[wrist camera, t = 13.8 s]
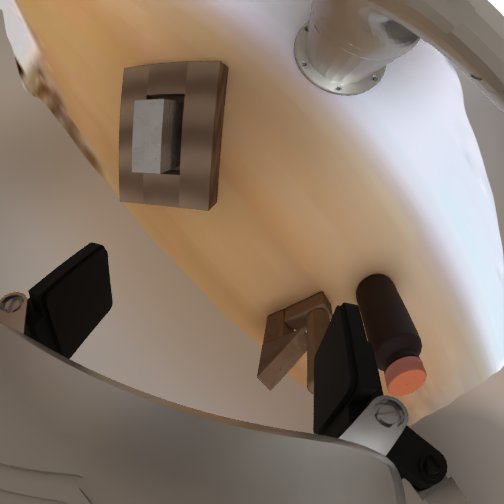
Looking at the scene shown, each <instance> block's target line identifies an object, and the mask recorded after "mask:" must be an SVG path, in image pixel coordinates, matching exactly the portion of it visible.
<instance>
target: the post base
mask: <svg viewBox="0 0 504 504" xmlns="http://www.w3.org/2000/svg"><path fill="white" fill-rule="evenodd" d="M227 74H228V67H227V66H226V65H225V64H223V63H222V62H221V61H188V62H172V63H160V64H151V65H142V66H135V67H128V68H124V74H123V84H122V95H121V109H120V129H119V191H120V202H131V203H141V204H151V205H161V206H170V207H179V208H188V209H197V210H205V211H209V210H210V209H211V208H212V207H213V206H214V205H215V204H216V203H217V191H218V176H219V162H220V149H221V137H222V125H223V114H224V104H225V94H226V84H227ZM151 99H168V100H174V101H180V102H184V110H183V123H182V138H181V157H180V166H179V167H176V168H173V169H171V170H168V171H166V172H163V173H161V174H155V173H138V172H132V139H133V118H134V104H135V100H151Z"/></svg>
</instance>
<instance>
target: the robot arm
mask: <svg viewBox="0 0 504 504" xmlns="http://www.w3.org/2000/svg"><path fill="white" fill-rule="evenodd" d="M306 30H308V32H307V31H306ZM420 38H421V39H422V40H424V41H425V42H428V43H429V44H431V45H432V46H433V47H434V48H436V49H437V50H438V51H439V52H440V53H442V54H443V55H444V56H445V57H446V58H448V59H449V60H450V61H451V62H452V63H453V64H454V65H456V66H457V67H458V68H459V69H460V70H461V71H462V72H463V73H464V74H465V75H466V76H467V77H468V78H469V79H470V80H471V81H472V82H473V83H474V84H475V85H477V87H478V88H479V89H480V90H481V91H482V92H483V93H484V94H485V95H486V96H487V97H488V98H489V99H490V100H491V101H492V102H493V103H494V104H495V105H496V106H497V107H498V108H499V109H500V110H501V111H503V112H504V0H313V1H312V8H311V15H310V20H309V21H308V22H307V23H306V24H304V25H303V27H302V28H301V29H300V30H299V32H298V34H297V36H296V40H295V44H294V51H295V58H296V61H297V64H298V66H299V68H300V70H301V71H302V73H303V74H304V75H305V76H306V78H307V79H308V80H309V81H311V82H312V83H313V84H314V85H316V86H317V87H319V88H321V89H322V90H325V91H327V92H330V93H333V94H337V95H357V94H360V93H363V92H365V91H368V90H369V89H371V88H372V87H374V86H375V85H376V84H377V83H378V82H379V81H380V80H381V78H382V76H383V74H384V71H385V68H386V65H387V64H389V63H390V62H392V61H393V60H395V59H397V58H398V57H400V56H402V55H403V54H405V53H407V52H408V51H410V50H411V49H412V48H413V47H414V46H415V45H416V44H417V43H418V41H419V40H420ZM303 63H305V64H306V66H303V65H302V64H303ZM372 77H374V78H375V80H373V79H372ZM337 87H338V88H339V91H337V90H336V88H337ZM29 295H30V298H29V299H28V300H27V297H26V296H25V295H24V294H23V293H20V292H13V293H9V294H7V295H5V296H4V297H3V298H1V299H0V504H470V503H469V501H468V500H467V498H466V497H465V496H464V494H463V492H462V491H461V490H460V488H459V487H458V485H457V484H456V482H455V481H454V480H453V478H452V477H451V476H450V477H449V478H447V476H446V472H447V463H446V460H445V458H444V456H443V455H442V454H441V453H440V452H439V451H438V450H436V449H435V448H434V447H433V446H431V445H430V444H429V443H428V442H426V441H425V440H424V439H423V438H421V437H420V436H419V435H418V434H416V433H415V432H414V431H413V430H412V429H410V428H409V427H408V426H407V422H408V412H407V409H406V407H405V406H404V404H403V403H402V402H400V401H399V400H398V399H396V398H394V397H391V396H383V391H382V386H381V381H380V376H379V372H378V367H377V363H376V359H375V355H374V350H373V346H372V344H371V342H369V341H367V337H366V333H365V329H364V325H363V321H362V318H361V314H360V310H359V307H358V305H354V304H349V303H343V304H342V305H341V306H339V305H338V306H337V307H336V309H335V311H334V314H333V316H332V319H331V321H330V323H329V326H328V328H327V330H326V332H325V335H324V337H323V339H322V341H321V344H320V346H319V348H318V350H317V352H316V355H315V358H314V428H313V430H314V434H311V433H305V432H298V431H292V430H285V429H280V428H274V427H269V426H264V425H259V424H254V423H249V422H244V421H239V420H235V419H230V418H226V417H222V416H218V415H215V414H211V413H207V412H203V411H200V410H196V409H193V408H189V407H186V406H183V405H180V404H177V403H173V402H170V401H167V400H164V399H162V398H159V397H156V396H153V395H150V394H147V393H145V392H142V391H139V390H137V389H134V388H132V387H129V386H126V385H124V384H122V383H119V382H117V381H115V380H112V379H110V378H108V377H105V376H103V375H101V374H99V373H97V372H94V371H92V370H90V369H88V368H86V367H84V366H82V365H80V364H78V363H76V362H74V361H72V360H70V357H72V355H73V354H74V353H75V351H76V350H77V349H78V348H79V346H80V345H81V344H82V343H83V342H84V340H85V339H86V338H87V337H88V335H89V334H90V333H91V332H92V331H93V329H94V328H95V327H96V326H97V325H98V323H99V322H100V321H101V320H102V319H103V317H104V316H105V315H106V314H107V313H108V311H109V310H110V309H111V307H112V293H111V285H110V276H109V265H108V254H107V251H106V250H105V248H104V246H103V245H100V244H96V243H89V244H88V245H87V246H85V247H84V248H83V249H81V250H80V251H78V252H77V253H76V254H75V255H73V256H72V257H70V258H69V259H68V260H66V261H65V262H64V263H62V264H61V265H60V266H58V267H57V268H56V269H55V270H53V271H52V272H51V273H50V274H48V275H47V276H46V277H45V278H43V279H42V280H41V281H40V282H39V283H37V284H36V285H35V286H34V287H32V288H31V289H30V290H29ZM317 434H318V435H317Z"/></svg>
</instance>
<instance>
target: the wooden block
mask: <svg viewBox="0 0 504 504" xmlns="http://www.w3.org/2000/svg"><path fill="white" fill-rule="evenodd" d="M332 316H333V315H332V309H331V305H330V303H329V302H328V300H327V298H326V297H325V295H324V293H323V292H320V293H318V294H316V295H314V296H312V297H310V298H308V299H306V300H303V301H301V302H299V303H297V304H295V305H293V306H290V307H288V308H286V309H285V310H281V311H279V312H277V313H275V314H272V315H270V316H268V317H267V323H266V329H265V335H264V341H263V343H264V344H263V345H262V351H261V357H260V363H259V368H258V374H257V378H258V379H259V380H260V381H261V382H262V383H263V384H264V385H265V386H266V387H267V388H268V389H269V390H271V389H273V388H274V386H275V385H276V384H277V383H278V382H279V381H280V380H281V379H282V378H283V377H284V376H285V375H286V374H287V372H288V371H289V370H290V369H291V368H292V367H293V366H294V365H295V364H296V362H297V361H298V360H299V359H300V358H301V357H302V356H303V354H304V353H305V352H306V351H307V388H308V390H309V392H311V393H312V394H314V358H315V355H316V352H317V350H318V348H319V346H320V344H321V341H322V339H323V337H324V335H325V332H326V330H327V328H328V326H329V323H330V320H331V319H332ZM294 329H295V330H296V331H294ZM306 330H307V333H306V332H305V331H306Z"/></svg>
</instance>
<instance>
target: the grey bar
mask: <svg viewBox="0 0 504 504" xmlns="http://www.w3.org/2000/svg"><path fill="white" fill-rule="evenodd" d="M183 110H184V102H180V101H174V100H168V99H151V100H135V104H134V118H133V139H132V172H138V173H155V174H161V173H163V172H166V171H168V170H171V169H173V168H176V167H179V166H180V157H181V138H182V123H183Z"/></svg>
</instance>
